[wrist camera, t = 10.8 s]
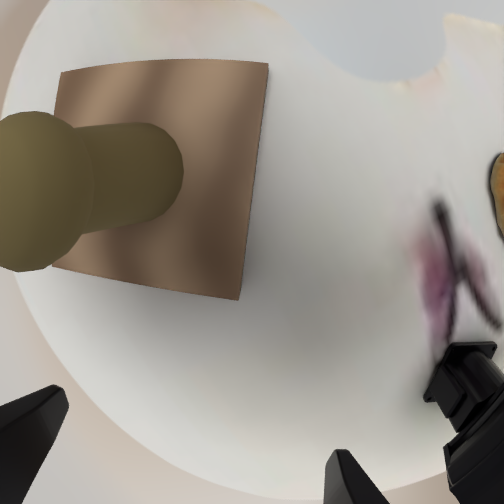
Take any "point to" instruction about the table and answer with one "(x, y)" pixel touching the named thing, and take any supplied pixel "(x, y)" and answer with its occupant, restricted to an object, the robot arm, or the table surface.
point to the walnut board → (194, 163)
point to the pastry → (498, 190)
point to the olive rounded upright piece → (78, 183)
